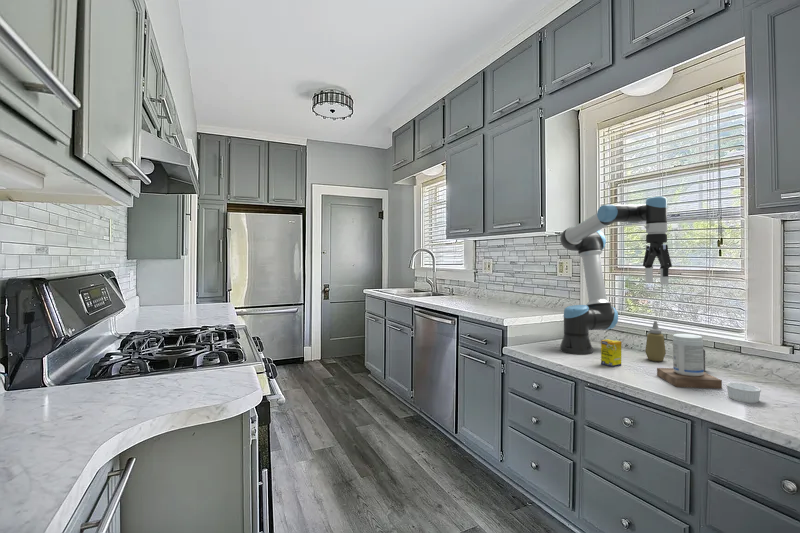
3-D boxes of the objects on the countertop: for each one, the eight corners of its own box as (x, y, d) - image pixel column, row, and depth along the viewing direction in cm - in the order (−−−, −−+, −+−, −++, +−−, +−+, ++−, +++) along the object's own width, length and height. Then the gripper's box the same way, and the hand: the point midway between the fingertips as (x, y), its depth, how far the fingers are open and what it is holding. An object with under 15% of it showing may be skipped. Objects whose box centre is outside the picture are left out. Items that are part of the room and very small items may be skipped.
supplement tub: (708, 374, 152) (708, 336, 152) (697, 378, 147) (697, 339, 147) (679, 368, 160) (679, 332, 160) (668, 372, 155) (668, 335, 155)
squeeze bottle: (662, 363, 180) (662, 323, 179) (642, 360, 186) (642, 321, 185) (668, 360, 185) (668, 321, 185) (648, 357, 191) (648, 319, 191)
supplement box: (600, 364, 179) (600, 340, 179) (609, 362, 182) (609, 338, 182) (613, 367, 174) (613, 342, 174) (621, 365, 177) (621, 341, 177)
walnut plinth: (657, 375, 162) (657, 367, 162) (697, 376, 159) (697, 369, 159) (676, 387, 147) (676, 378, 147) (721, 388, 145) (721, 380, 145)
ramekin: (750, 395, 138) (750, 383, 137) (767, 404, 129) (767, 391, 129) (720, 394, 140) (720, 381, 139) (735, 402, 131) (735, 389, 131)
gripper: (634, 235, 182) (634, 281, 182) (661, 231, 157) (661, 285, 157) (652, 235, 180) (652, 281, 181) (682, 231, 156) (682, 285, 156)
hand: (656, 283), depth 169 cm, fingers open, 13 cm apart
